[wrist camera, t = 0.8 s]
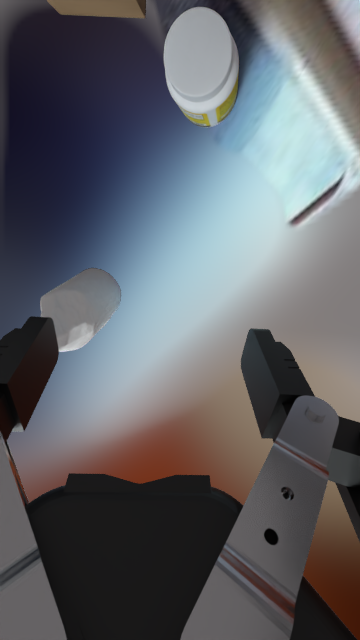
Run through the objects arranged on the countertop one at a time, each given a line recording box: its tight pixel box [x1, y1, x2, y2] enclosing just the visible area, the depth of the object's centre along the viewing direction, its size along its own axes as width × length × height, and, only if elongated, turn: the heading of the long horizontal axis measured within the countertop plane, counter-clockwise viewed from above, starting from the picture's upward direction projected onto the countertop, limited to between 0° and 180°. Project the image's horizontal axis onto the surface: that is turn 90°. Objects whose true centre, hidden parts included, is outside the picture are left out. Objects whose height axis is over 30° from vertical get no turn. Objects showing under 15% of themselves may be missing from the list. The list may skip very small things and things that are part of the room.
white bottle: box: [40, 268, 121, 352], centre depth 28 cm, size 6×12×6 cm
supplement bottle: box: [164, 7, 239, 127], centre depth 20 cm, size 5×5×8 cm
